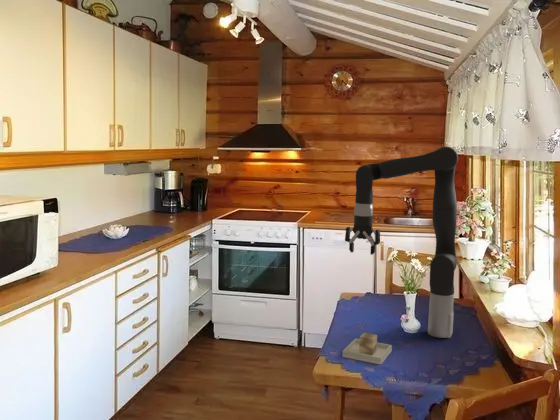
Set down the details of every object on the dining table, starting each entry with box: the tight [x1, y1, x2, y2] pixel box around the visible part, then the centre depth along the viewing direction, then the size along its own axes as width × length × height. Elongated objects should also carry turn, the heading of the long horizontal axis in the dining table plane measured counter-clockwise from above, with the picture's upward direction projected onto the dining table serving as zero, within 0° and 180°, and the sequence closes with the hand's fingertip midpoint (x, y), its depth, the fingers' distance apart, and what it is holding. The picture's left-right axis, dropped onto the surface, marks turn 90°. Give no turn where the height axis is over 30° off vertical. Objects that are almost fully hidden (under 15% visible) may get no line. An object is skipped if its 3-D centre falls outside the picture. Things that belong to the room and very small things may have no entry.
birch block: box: [359, 332, 378, 355], centre depth 200 cm, size 5×5×6 cm
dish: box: [342, 338, 393, 365], centre depth 201 cm, size 14×14×2 cm
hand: (361, 253), depth 227 cm, fingers open, 8 cm apart
